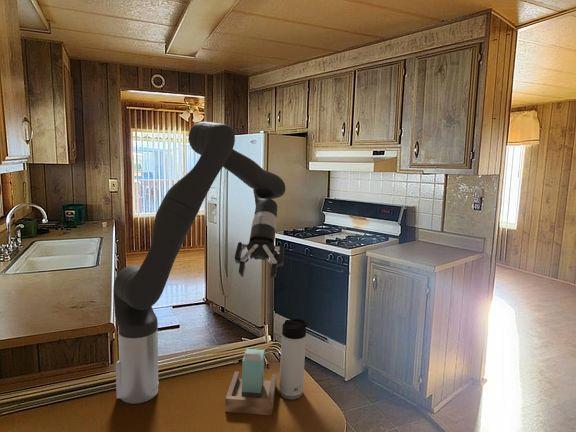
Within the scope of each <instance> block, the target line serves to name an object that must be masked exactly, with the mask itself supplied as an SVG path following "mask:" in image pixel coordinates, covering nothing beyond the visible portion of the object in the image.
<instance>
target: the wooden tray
mask: <svg viewBox="0 0 576 432" xmlns="http://www.w3.org/2000/svg"><path fill="white" fill-rule="evenodd" d="M277 376H278V375H277V374H275V373H272V374H271V379H270V380H266V379H265V380H264V379H263V389H262V394H261V398H252V397H242V378H240V371H238V370H236V371H234V372H233V375H232V379H231V382H230V385H229V387H228V391H227V393H226V394H225V395H226V396H225V399H224V400H225V401H224V402H225V403H224V406H225V407H224V413H237V414H251V415H264V416H273V409H274V404H275V396H276V391H277V390H276V389H277Z"/></svg>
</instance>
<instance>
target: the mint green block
mask: <svg viewBox="0 0 576 432" xmlns="http://www.w3.org/2000/svg"><path fill="white" fill-rule="evenodd" d="M245 349H246V350H245V352H244V354H243V357H242V361H241V362H242V363H241V364H242V367H241V369H242V370H241V379H242V397H252V398H261V394H262V389H263V380H264V375H265V372H264V371H265V349H254V348H245Z"/></svg>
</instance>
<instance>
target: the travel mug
mask: <svg viewBox="0 0 576 432" xmlns="http://www.w3.org/2000/svg"><path fill="white" fill-rule="evenodd" d="M281 326H282V332H281V342H280V343H281V345H280V348H281V349H280V362H279V363H280V364H279V365H280V367H279V385H278V386H279V387H278V388H279V389H278V393H279V395H280V396H281V397H282V398H284V399H286V400H297V399H299V398H300V397H302V396H303V395H304V394H303V392H304V380H305V379H304V375H305V360H306V359H305V357H306V342H307V328H308V326H309V322H308V321H305V320H303V319H300V318H294V319H293V318H292V319H289V320H286V321H284V322H283V324H282V325H281Z"/></svg>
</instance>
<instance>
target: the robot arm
mask: <svg viewBox="0 0 576 432" xmlns="http://www.w3.org/2000/svg"><path fill="white" fill-rule="evenodd" d="M235 141H236V135H235V132H234V129H233V128H232V127H231V126H230V125H228V124H224V123H219V122H212V121H199V122H197V123H195V124H193V125H192V127H191V128H190V130H189V132H188V143H189V145H190V147H191V149H192V151H194V152H195V153H196V154H198V155H200V156H199V158H198V160H197V161H196V163H195V165H194V166H193V167H192V169H191V170H189V172H187V173H186V174H184V176H183V177H182V178H180V179H179V180H178V181H177V182H175V183H174V184H173V186H171V187H170V188H169V190H168V191H167V192H166V193H165V195H164V197H163V199H162V201H161V203H160V205H159V207H158V209H157V211H156V214H155V217H154V221H153V226H152V237H151V242H150V247H149V249H148V252H147V254H146V256H145V259H144V260H143V262H142V264H141V265H137V264H136V265H135V264H134V265H132V264H131V265H128V266H126V267H123V269H121V270H120V271H119V272H118V274H117V275H116V277H115V279H114V283H113V304H114V317H115V321H116V324H117V329H118V330H117V331H118V360H117V361H116V362H115V383H116V384H115V385H116V386H115V387H116V389H115V390H116V399H119V400H121V401H123V402H124V403H126V404H132V405H134V404H142V403H145V402H148V401H150V400H153V398H154V397H156V396H157V395H158V394H159V393H158V392H159V337H158V336H159V333H158V332H159V331H158V330H159V326H158V325H159V323H158V317H157V315H156V313H155V311H154V309H153V306H154V305H155V304H156V303H157V302H158V301H159V299H160V298H161V296H162V295H163V292H164V290H165V287H166V284H167V282H168V279H169V277H170V274H171V271H172V268H173V265H174V263H175V261H176V258H177V257H178V254H179V252H180V250H181V248H182V245H183V244H184V241H185V240H186V238H187V235H188V234H189V231H190V229H191V228H192V225H193V223H194V222H195V220H196V217H197V215H198V213H199V211H200V209H201V207H202V205H203V203H204V201H205V198H206V197H207V195H208V193H209V191H210V189H211V187H212V185H213V183H214V181H215V180H216V178H217V177H218V175H219V174H220V172H221V170H222V169H223V168H224V169H225V170H227V171H229V172H230V173H231V174H233V175H234V176H235V177H236V178H238V179H239V180H240V181H242V182H243V183H244V184H245V185H246V186H248V187H249V188H251V189H253V197H254V202H255V203H254V204H255V207H254V208H255V209H254V215H253V219H252V223H251V229H250V235H249V241H248V243H246V244H245V243H243V242H242V241H239V242H238V243H237V246H236V249H235V254H234V257H233V258H234V262H235V264H239V266H238V267H239V268H238V275H239V276H240V277H241V278H243V277H244V276H245V269H246V265H247V264H248V263H249V262H251V261H252V260H253V259H254V260H262V261H265V260H267V261H268V263H269V264H271V267H270V269H271V271H270V279H271V280H274V278H276V276H277V269H278V267H284V261H285V260H284V259H285V258H284V257H285V245H284V244H280V245H279V246H275V242H276V241H275V239H276V232H277V216H278V204H277V202H276V201H275V199H277V198H281V197H282V196H283V195H284V194H285V193H286V184H285V182H284V180H283V179H282V178H281V177H280V176H279V175H277V174H275V173H272V172H270V171H269V170H265V169H263V168H262V166H260V165H259V164H258V163H257V162H256V161H254V160H253V159H251V158H250V157H248V156H246V155H245V154H242V153H240V152H239V151H237V150H235V148H234V147H235ZM245 250H247V251H246V252H245ZM242 252H243V253H244V252H245V253H244V255H242ZM275 252H276V253H277V254H278V255H279V257H278V258H279V259H278V260H277V259H276V258H275V256H274V253H275Z"/></svg>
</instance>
